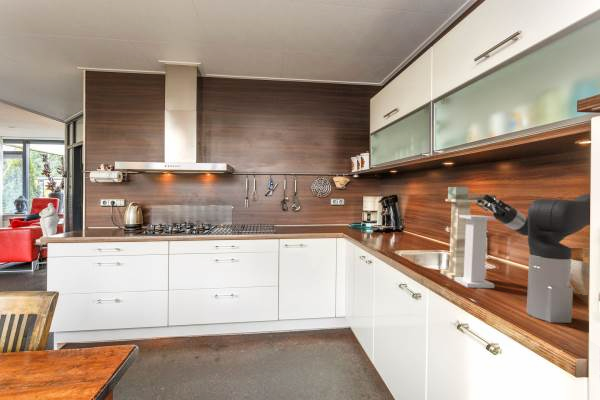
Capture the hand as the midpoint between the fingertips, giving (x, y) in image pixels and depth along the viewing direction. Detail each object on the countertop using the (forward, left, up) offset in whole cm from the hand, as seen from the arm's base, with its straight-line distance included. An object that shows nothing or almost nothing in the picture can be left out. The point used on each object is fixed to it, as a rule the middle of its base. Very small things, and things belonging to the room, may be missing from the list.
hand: (477, 196), depth 129 cm
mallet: (0, +3, -2) cm, 3 cm away
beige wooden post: (0, +7, -34) cm, 34 cm away
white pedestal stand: (-11, +7, -34) cm, 36 cm away
